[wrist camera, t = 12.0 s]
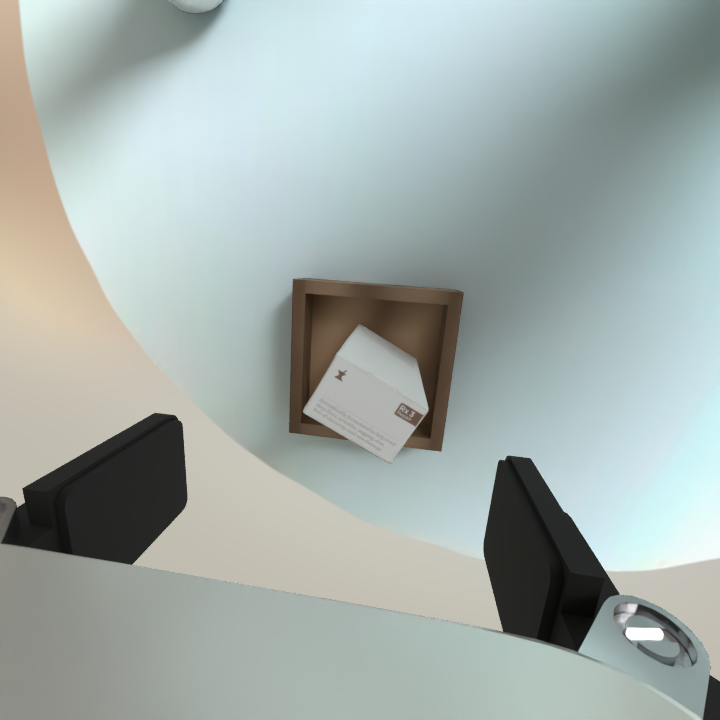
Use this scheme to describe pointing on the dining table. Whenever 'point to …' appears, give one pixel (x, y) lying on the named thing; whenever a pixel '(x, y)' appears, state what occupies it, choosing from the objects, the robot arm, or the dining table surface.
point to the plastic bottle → (196, 5)
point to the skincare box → (371, 394)
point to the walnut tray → (385, 318)
